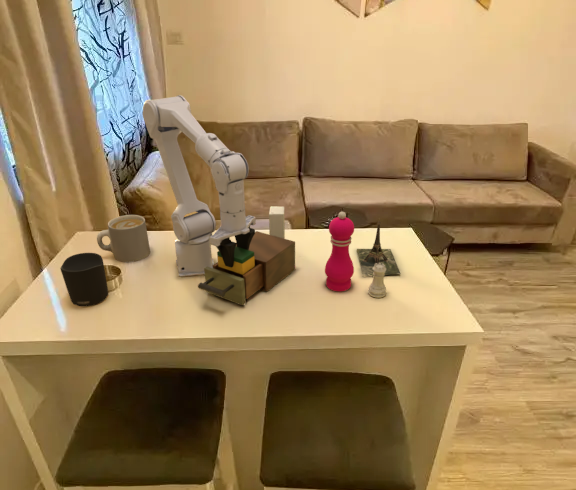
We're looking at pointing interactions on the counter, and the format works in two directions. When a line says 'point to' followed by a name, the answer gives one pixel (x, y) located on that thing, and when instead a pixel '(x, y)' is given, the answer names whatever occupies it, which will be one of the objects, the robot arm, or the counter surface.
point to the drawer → (233, 282)
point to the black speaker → (85, 279)
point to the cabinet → (273, 257)
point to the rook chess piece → (378, 282)
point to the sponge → (239, 261)
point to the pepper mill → (340, 254)
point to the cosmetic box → (277, 221)
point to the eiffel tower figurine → (377, 258)
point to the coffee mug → (126, 238)
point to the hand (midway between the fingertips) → (236, 261)
